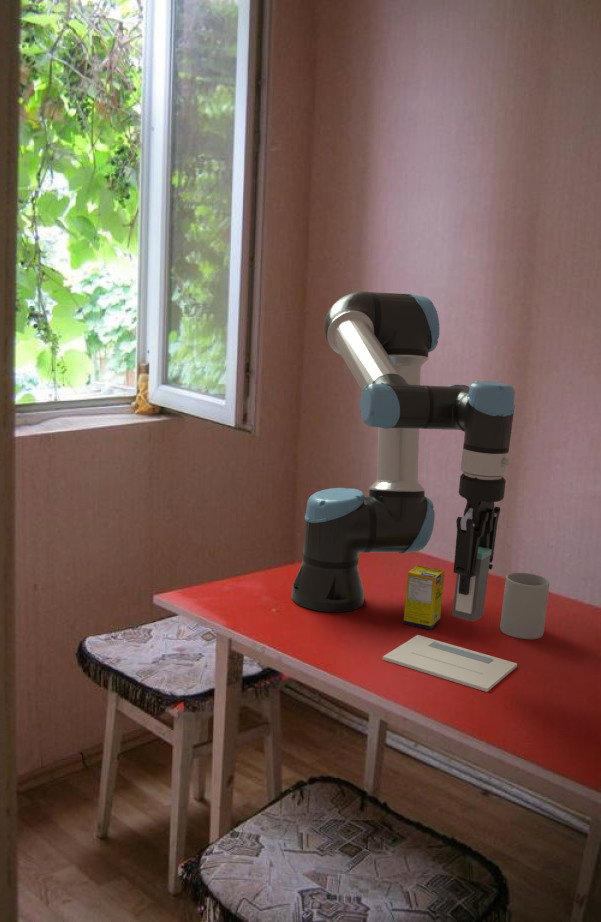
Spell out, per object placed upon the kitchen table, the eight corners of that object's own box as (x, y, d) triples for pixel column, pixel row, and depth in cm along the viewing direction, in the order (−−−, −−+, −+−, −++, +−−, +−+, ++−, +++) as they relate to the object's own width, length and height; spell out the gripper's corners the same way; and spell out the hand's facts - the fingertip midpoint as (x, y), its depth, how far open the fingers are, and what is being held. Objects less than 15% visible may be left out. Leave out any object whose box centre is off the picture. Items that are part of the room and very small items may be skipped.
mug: (551, 639, 187) (557, 585, 185) (511, 640, 185) (517, 586, 183) (523, 617, 198) (529, 566, 196) (485, 618, 196) (491, 566, 194)
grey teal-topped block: (451, 615, 163) (459, 548, 161) (461, 609, 167) (469, 543, 164) (473, 622, 161) (482, 554, 159) (483, 615, 165) (491, 549, 162)
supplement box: (440, 621, 192) (445, 569, 190) (431, 630, 187) (436, 577, 185) (412, 615, 195) (417, 564, 193) (402, 624, 189) (407, 571, 187)
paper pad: (382, 659, 171) (382, 656, 171) (417, 637, 183) (417, 634, 183) (487, 692, 161) (487, 688, 161) (516, 666, 172) (517, 663, 172)
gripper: (484, 486, 150) (469, 626, 155) (522, 471, 164) (508, 600, 169) (441, 478, 154) (427, 615, 159) (482, 464, 168) (468, 591, 173)
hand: (469, 607), depth 164 cm, fingers closed on grey teal-topped block, 4 cm apart
